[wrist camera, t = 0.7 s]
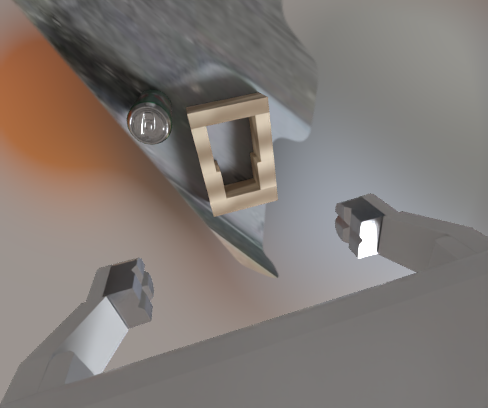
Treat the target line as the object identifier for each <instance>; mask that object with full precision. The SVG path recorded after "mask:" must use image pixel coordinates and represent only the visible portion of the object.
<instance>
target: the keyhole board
mask: <svg viewBox="0 0 488 408" xmlns="http://www.w3.org/2000/svg"><path fill="white" fill-rule="evenodd" d="M186 111H187V116H188V119H189V123H190V127H191V131H192V135H193V139H194V142H195V146H196V150H197V154H198V158H199V161H200V165H201V169H202V173H203V177H204V181H205V184H206V188H207V192H208V196H209V200H210V204H211V207H212V211H213V215H214V217H215V216H219V215H222V214H226V213H230V212H234V211H238V210H242V209H246V208H250V207H253V206H257V205H261V204H265V203H269V202H273V201H277V200H278V197H277V187H276V176H275V166H274V156H273V145H272V135H271V125H270V115H269V104H268V97H267V96H265V95H263V94H261V93H259V92H258V93H253V94H248V95H243V96H238V97H234V98H229V99H224V100H219V101H214V102H209V103H205V104H200V105H195V106H190V107H186ZM246 117H249V123H250V131H251V138H252V145H253V152H251V153H250V158H251V164H252V171H253V178H252V179H248V180H244V181H240V182H236V183H232V184H228V185H224V184H223V180H222V175H221V171H220V168H219V166H218V163H217V161H214V159H213V155H212V151H211V146H210V142H209V138H208V133H207V129H206V126H209V125H213V124H218V123H223V122H227V121H232V120H236V119H241V118H246Z"/></svg>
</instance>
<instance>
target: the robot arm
mask: <svg viewBox="0 0 488 408" xmlns="http://www.w3.org/2000/svg"><path fill="white" fill-rule="evenodd" d="M335 212H336V213H337V214H338V217H337V218H336V220H335V228H336V231H337V234H338V236H339V237H340V238H341V239H342V241H344V242H347V243H349V249H350V250H351V251H352V252H353V253H354V254H355V255H356V257H357V258H362V257H365V256H369V255H373V254H376V253H378V254H379V255H381V256H383V257H385V258H387V259H389V260H391V261H394V262H396V263H398V264H400V265H402V266H404V267H406V268H408V269H410V270H413V271H415V272H417V273H414V274H411V275H408V276H405V277H402V278H399V279H396V280H393V281H389V282H386V283H383V284H380V285H377V286H374V287H371V288H367V289H364V290H361V291H358V292H355V293H352V294H349V295H345V296H342V297H339V298H336V299H332V300H329V301H326V302H323V303H320V304H317V305H314V306H310V307H307V308H304V309H301V310H298V311H295V312H292V313H288V314H285V315H282V316H279V317H276V318H273V319H270V320H266V321H263V322H260V323H257V324H254V325H251V326H248V327H245V328H241V329H238V330H235V331H232V332H229V333H226V334H223V335H219V336H216V337H213V338H210V339H207V340H203V341H200V342H197V343H194V344H191V345H188V346H185V347H182V348H178V349H175V350H172V351H169V352H166V353H163V354H160V355H156V356H153V357H150V358H147V359H144V360H141V361H138V362H134V363H131V364H128V365H125V366H122V367H119V368H116V369H112V370H109V371H106V372H103V370H104V369H105V367H106V365H107V364H108V362H109V360H110V359H111V357H112V356H113V354H114V352H115V351H116V349H117V348H118V346H119V344H120V343H121V341H122V340H123V338H124V336H125V335H126V333H127V332H128V329H129V328H132V327H135V326H138V325H140V324H144V323H147V322H150V321H151V319H152V308H153V306H152V304H151V302H150V300H151V299H152V298H153V294H154V288H153V282H152V279H151V276H150V275H149V273H148V272H146V271H144V267H145V264H144V263H143V261H142V259H140V258H136V259H132V260H128V261H124V262H120V263H116V264H113V265H108V266H105V267H101V268H99V269H98V270H97V272H96V274H95V277H94V280H93V283H92V286H91V289H90V292H89V295H88V297H87V300H86V302H84V303H81V304H80V305H79V306H78V307H77V308H76V309H75V310H74V311H73V312H72V313H71V314H70V315H69V316H68V317H67V318H66V319H65V320H64V321H63V322H62V323H61V324H60V325H59V326H58V327H57V328H56V329H55V330H54V331H53V332H52V333H51V334H50V335H49V336H48V337H47V338H46V339H45V340H44V341H43V342H42V343H41V344H40V345H39V346H38V347H37V348H36V349H35V350H34V351H33V352H32V353H31V354H30V355H29V356H28V357H27V358H26V359H25V360H24V361H23V362H22V363H21V364H20V365H19V367H18V369H17V371H16V373H15V375H14V377H13V379H12V382H11V383H10V385H9V388H8V390H7V392H6V394H5V396H4V398H3V400H2V402H1V404H0V408H488V237H487V236H485V235H483V234H482V233H480V232H478V231H477V230H475V229H473V228H471V227H467V226H463V225H459V224H455V223H450V222H446V221H442V220H437V219H433V218H429V217H425V216H421V215H416V214H412V213H408V212H403V211H401V212H398V211H396V210H395V209H394V208H392V207H391V206H389V205H388V204H387V203H385V202H384V201H382V200H381V199H380V198H378V197H377V196H375V195H374V194H371V193H370V194H367V195H363V196H360V197H358V198H354V199H351V200H347V201H344V202H340V203H337V205H336V209H335ZM102 372H103V373H102Z"/></svg>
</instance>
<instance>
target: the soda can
mask: <svg viewBox="0 0 488 408" xmlns="http://www.w3.org/2000/svg"><path fill="white" fill-rule="evenodd" d="M127 125H128V129H129V131H130V133H131V134H132V135H133V136H134V137H135V138H136V139H137V140H138V141H140V142H142V143H145V144H151V145H153V144H159V143H161V142H163V141H164V140H166V139H167V138H168V136H169V135H170V132H171V129H172V105H171V102H170V100H169V98H168V97H167V96H166V95H165V94H164V93H162V92H161V91H158V90H147V91H145V92H143V93H142V94H141V95H140V96H139V97H138V99H137V100H136V102H135V103H134V105H133V106H132V108H131V109H130V111H129V113H128V115H127Z"/></svg>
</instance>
